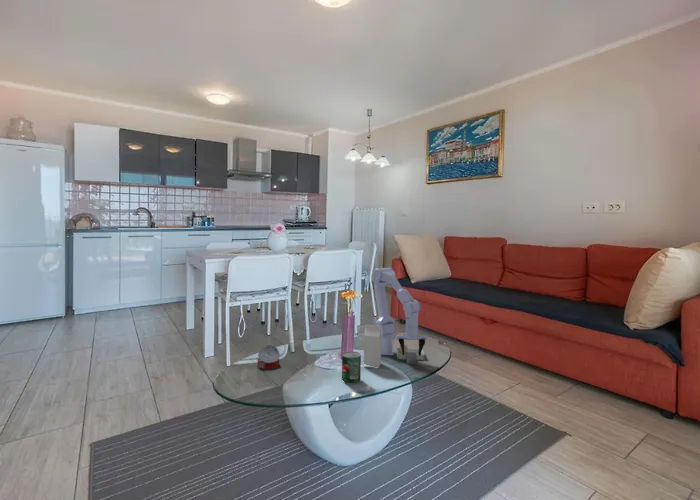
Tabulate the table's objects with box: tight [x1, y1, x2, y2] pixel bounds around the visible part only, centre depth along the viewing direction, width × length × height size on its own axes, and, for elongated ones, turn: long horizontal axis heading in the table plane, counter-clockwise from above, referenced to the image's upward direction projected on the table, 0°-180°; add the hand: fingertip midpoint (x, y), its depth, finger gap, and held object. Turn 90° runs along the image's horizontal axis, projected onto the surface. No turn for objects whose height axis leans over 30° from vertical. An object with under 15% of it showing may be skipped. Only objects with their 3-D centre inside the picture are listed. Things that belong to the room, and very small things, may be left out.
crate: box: [395, 347, 426, 361], centre depth 184 cm, size 13×10×3 cm
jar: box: [399, 344, 409, 354], centre depth 184 cm, size 4×4×5 cm
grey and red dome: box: [257, 344, 281, 370], centre depth 170 cm, size 11×10×10 cm
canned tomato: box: [341, 351, 362, 385], centre depth 153 cm, size 8×8×11 cm
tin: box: [405, 349, 417, 365], centre depth 175 cm, size 5×5×6 cm
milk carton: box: [363, 324, 382, 368], centre depth 170 cm, size 7×7×19 cm
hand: (411, 354), depth 175 cm, fingers open, 7 cm apart
